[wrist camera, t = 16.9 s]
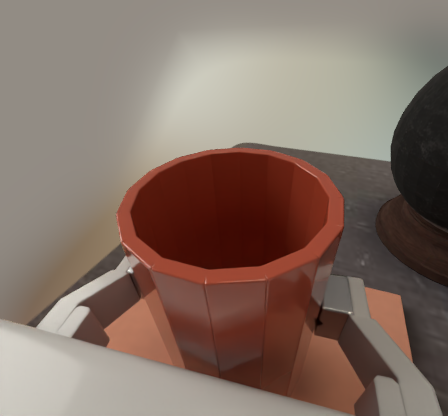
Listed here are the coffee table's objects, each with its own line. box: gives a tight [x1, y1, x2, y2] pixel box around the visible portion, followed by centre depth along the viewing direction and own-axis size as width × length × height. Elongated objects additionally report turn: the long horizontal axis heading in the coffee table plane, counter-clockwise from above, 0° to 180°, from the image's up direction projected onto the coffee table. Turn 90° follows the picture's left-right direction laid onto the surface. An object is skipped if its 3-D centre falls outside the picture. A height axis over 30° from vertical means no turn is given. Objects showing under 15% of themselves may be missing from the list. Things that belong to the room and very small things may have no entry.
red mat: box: [104, 287, 413, 415], centre depth 15 cm, size 18×14×1 cm
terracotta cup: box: [116, 148, 344, 397], centre depth 11 cm, size 6×6×10 cm
